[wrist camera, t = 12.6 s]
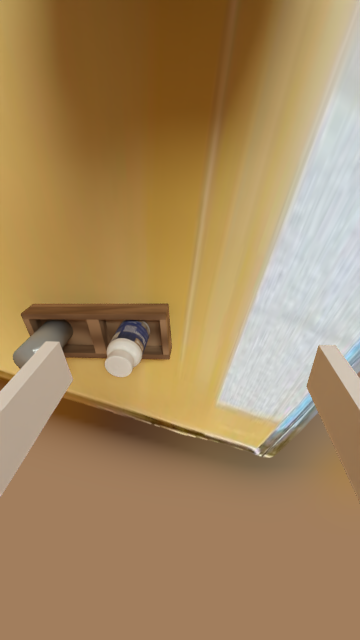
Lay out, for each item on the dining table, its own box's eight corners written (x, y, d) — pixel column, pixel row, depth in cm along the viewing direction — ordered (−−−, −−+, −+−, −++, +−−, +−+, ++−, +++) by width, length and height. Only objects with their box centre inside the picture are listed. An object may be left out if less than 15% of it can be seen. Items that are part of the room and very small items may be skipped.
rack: (33, 304, 44) (20, 314, 41) (168, 303, 42) (165, 314, 39) (49, 345, 49) (39, 356, 46) (171, 346, 46) (169, 359, 43)
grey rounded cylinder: (41, 316, 44) (7, 348, 37) (68, 316, 44) (39, 348, 36) (50, 339, 47) (20, 373, 39) (76, 340, 46) (50, 374, 39)
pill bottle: (156, 327, 43) (144, 366, 35) (140, 346, 46) (125, 386, 37) (130, 310, 42) (110, 345, 34) (114, 330, 44) (93, 368, 36)
